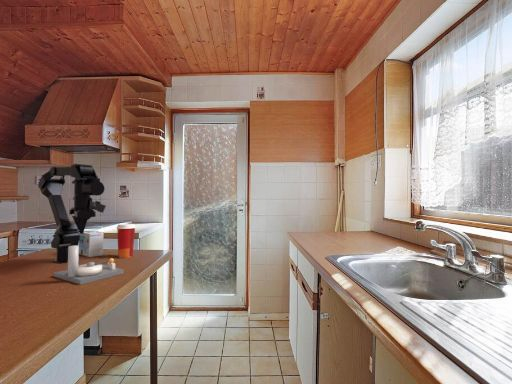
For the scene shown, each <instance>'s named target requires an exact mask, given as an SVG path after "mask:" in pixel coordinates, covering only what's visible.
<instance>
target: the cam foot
mask: <svg viewBox="0 0 512 384" xmlns="http://www.w3.org/2000/svg"><path fill="white" fill-rule="evenodd" d="M79 255H80V254H79V244H78V245H73V246H68V262H67V270H68V277H75V276H89V275H95V274H98V273H101V272H102V265H106V264H107V263H108V262H109V260H104V261H99V262H94V261H89V262H86V263H84V264H79V257H80V256H79ZM101 264H102V265H101Z"/></svg>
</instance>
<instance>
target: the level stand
mask: <svg viewBox="0 0 512 384" xmlns="http://www.w3.org/2000/svg"><path fill="white" fill-rule="evenodd" d="M101 265H102V272H101V273H98V274H95V275H89V276H75V277H68V269H65V270H59V271H54V272H53V277H55V278H58V279H61V280H64V281H67V282H70V283H73V284H77V285H83V284H88V283H91V282H96V281H100V280H103V279H108V278H111V277H115V276H118V275H122V274H124V272H125V271H124V268H120V267H119V268H118V267H116V263H115V259H114V258H112V257H111V258H109V259H108V263H106V264H101Z"/></svg>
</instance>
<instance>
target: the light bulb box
mask: <svg viewBox="0 0 512 384" xmlns="http://www.w3.org/2000/svg"><path fill="white" fill-rule="evenodd" d="M79 234H80V239H79V243H78V246H79V255H82V256H84V257H87V258H93V257H99V256H103V255H104V236H105V235H104V232H101V231H97V230H92V229H91V230H84V233H82V234H81V233H80V232H79Z"/></svg>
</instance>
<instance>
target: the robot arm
mask: <svg viewBox="0 0 512 384" xmlns="http://www.w3.org/2000/svg"><path fill="white" fill-rule="evenodd" d="M65 176H66V177H68V176H69V177H70V178H71V177H72V178H73V179H74V180H73V181H71V183H72V184H74V189H73V192H74V193H73V197H72V199H73V200H72V201H73V207H70V209H69V215H72V216H71V217H72V218H73V221H74V223H71V221H70V218H69V215H68V213H67V210H66V206H65V204H64V200H63V197H62V192H63V190H64V185H65V183H66V180H65V179H66V178H65ZM54 177H60V178H54ZM37 185H38V186H37V187H38V188H39V190H40V192H41V194H42V195H43V196H44V197H46V198H47V200H48V202H49V205H50V209H51V212H52V215H53V218H54V221H55V224H56V229H55V232H54V237H53V239H52V240H51V241H50V248H52V249H56V259H53V260H52V262H54V263H58V264H64V263H68V246H73V245H78V246H79V239H80V234H79V232H80V233H81V234H82V233H84V231H85V229H86V225H87V222H88V221H89V220H90V219H91V218H95V217H96V213H97V212H99V213H103V214H104V211H105V209H106V208H107V207H106V206H107V205H106V204H105V205H104V204H102V203H101V201H99V200H95V201H93V198H92V197H91V196H101V195H103V194H104V192H105V188H106V187H105V185H104V183H102V182H101V179H100V178H99V176H98V175H97V173H96V171H95V169H94V167H93V165H92V164H83V163H74V164H70V166H51V167H50V169H49V170H48V171H47V172H45V173H44V174H42V175H41V177H40V179H39V180H38V184H37Z"/></svg>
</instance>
